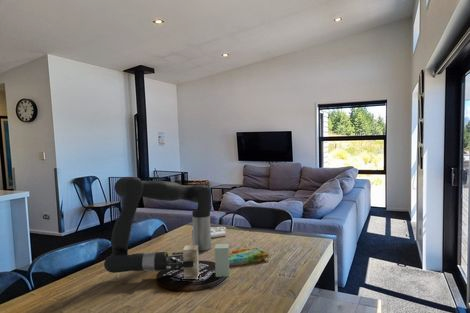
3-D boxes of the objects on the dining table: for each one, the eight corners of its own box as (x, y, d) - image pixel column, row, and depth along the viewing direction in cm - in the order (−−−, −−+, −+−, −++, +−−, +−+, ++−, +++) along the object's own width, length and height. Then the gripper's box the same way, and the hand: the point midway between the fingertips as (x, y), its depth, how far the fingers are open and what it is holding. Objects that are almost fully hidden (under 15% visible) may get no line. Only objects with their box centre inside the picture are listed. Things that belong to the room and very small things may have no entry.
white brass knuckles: (201, 240, 194) (194, 234, 208) (230, 236, 201) (222, 230, 215) (201, 234, 194) (194, 229, 208) (230, 230, 201) (222, 225, 215)
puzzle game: (219, 251, 160) (258, 245, 167) (219, 261, 161) (258, 254, 168) (227, 259, 149) (268, 252, 156) (227, 269, 150) (268, 262, 157)
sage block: (215, 277, 140) (214, 248, 139) (216, 272, 145) (215, 244, 144) (229, 276, 140) (228, 248, 139) (229, 271, 145) (228, 243, 144)
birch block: (184, 279, 138) (182, 250, 138) (186, 273, 144) (184, 245, 143) (197, 278, 138) (196, 249, 138) (199, 273, 144) (198, 245, 143)
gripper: (150, 258, 133) (192, 257, 133) (158, 247, 148) (196, 245, 147) (151, 277, 134) (192, 276, 134) (159, 264, 148) (196, 262, 148)
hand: (194, 260), depth 141 cm, fingers open, 8 cm apart
